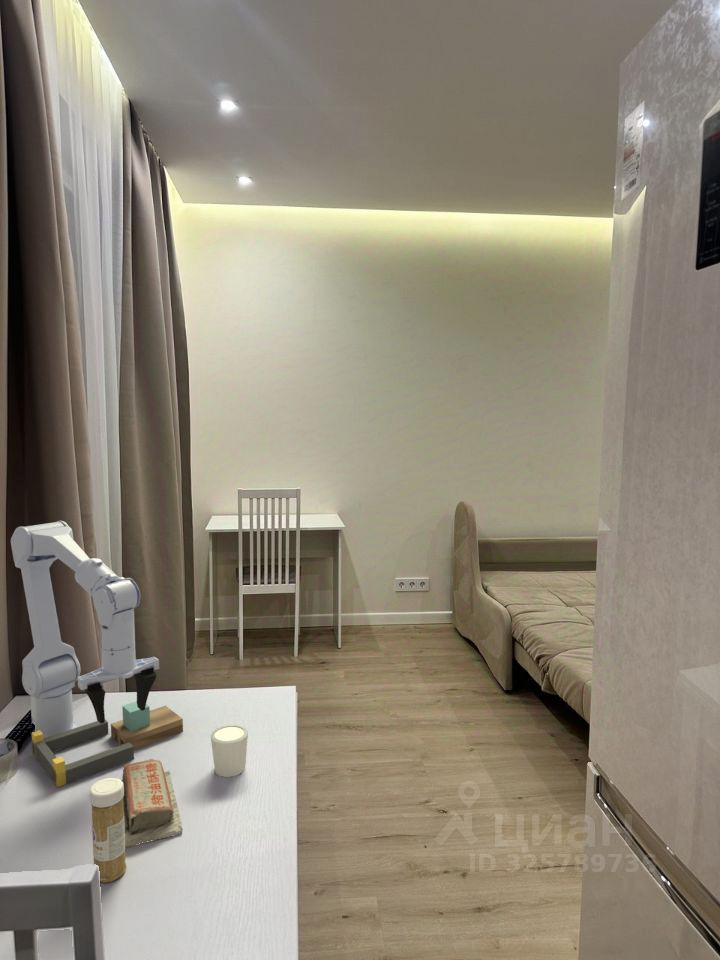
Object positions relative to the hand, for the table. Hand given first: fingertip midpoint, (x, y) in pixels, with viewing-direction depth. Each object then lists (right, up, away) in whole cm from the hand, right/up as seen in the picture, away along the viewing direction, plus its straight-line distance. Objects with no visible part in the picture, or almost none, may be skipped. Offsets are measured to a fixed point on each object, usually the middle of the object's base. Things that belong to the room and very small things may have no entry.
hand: (121, 714), depth 119 cm
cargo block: (-1, -6, +11) cm, 12 cm away
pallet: (+1, -9, +13) cm, 15 cm away
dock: (-9, -10, +4) cm, 14 cm away
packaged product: (+9, -12, -12) cm, 19 cm away
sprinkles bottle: (+9, -13, -27) cm, 31 cm away
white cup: (+21, -10, 0) cm, 23 cm away
